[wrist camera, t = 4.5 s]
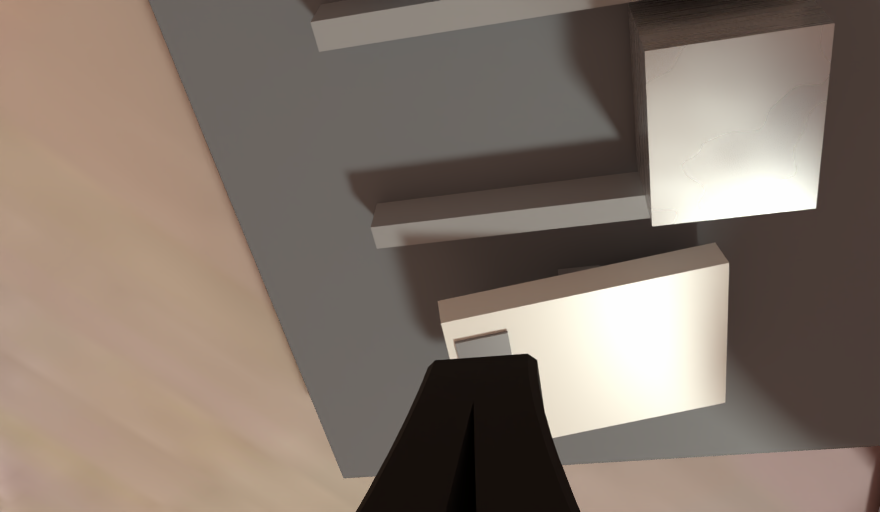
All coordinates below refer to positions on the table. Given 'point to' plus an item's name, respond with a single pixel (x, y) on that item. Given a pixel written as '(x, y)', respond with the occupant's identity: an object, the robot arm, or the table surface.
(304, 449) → the table surface
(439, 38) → the control panel
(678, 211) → the pale beige block
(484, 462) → the robot arm
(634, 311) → the plate
